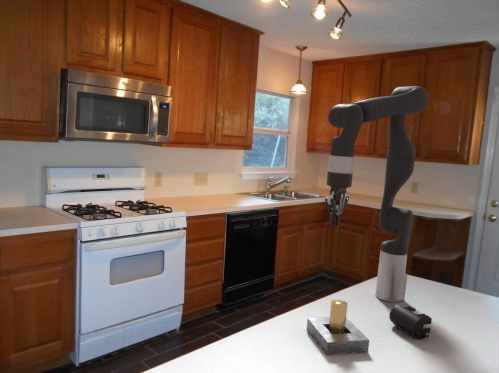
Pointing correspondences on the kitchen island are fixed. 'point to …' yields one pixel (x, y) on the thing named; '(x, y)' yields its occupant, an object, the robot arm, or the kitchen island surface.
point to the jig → (337, 337)
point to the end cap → (410, 321)
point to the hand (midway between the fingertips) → (334, 226)
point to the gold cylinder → (337, 317)
